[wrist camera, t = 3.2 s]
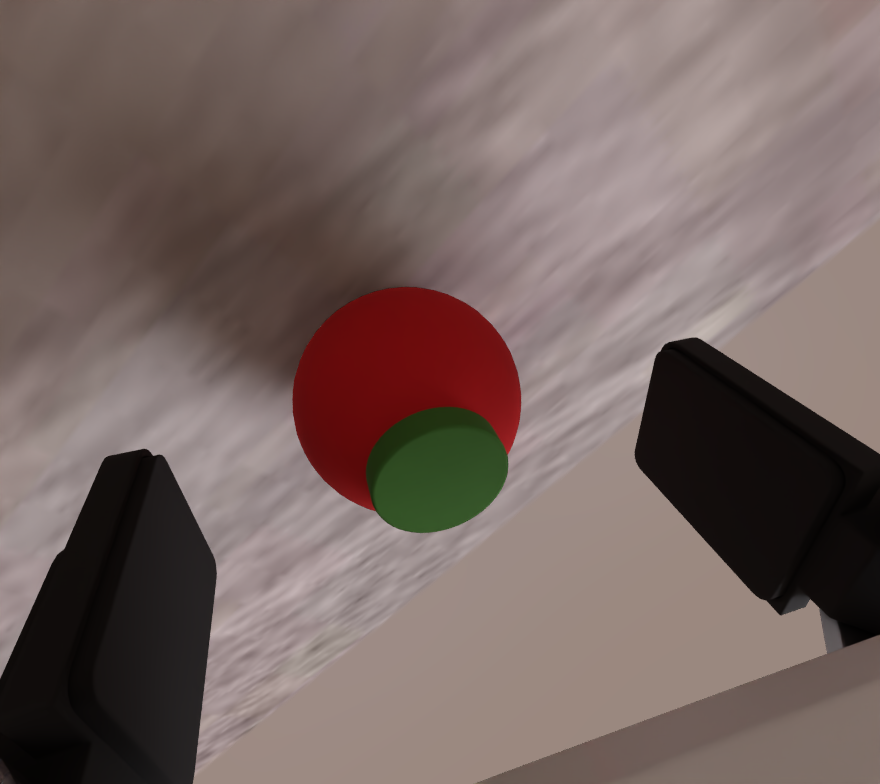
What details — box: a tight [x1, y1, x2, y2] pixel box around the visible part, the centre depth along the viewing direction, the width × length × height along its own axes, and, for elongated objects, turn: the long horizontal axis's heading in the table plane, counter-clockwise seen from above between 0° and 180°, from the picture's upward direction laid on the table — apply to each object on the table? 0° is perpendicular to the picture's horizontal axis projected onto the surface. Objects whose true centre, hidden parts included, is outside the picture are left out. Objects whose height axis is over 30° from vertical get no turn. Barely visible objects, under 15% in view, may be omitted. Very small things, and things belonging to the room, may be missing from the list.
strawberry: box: [292, 287, 521, 533], centre depth 10 cm, size 5×5×5 cm
